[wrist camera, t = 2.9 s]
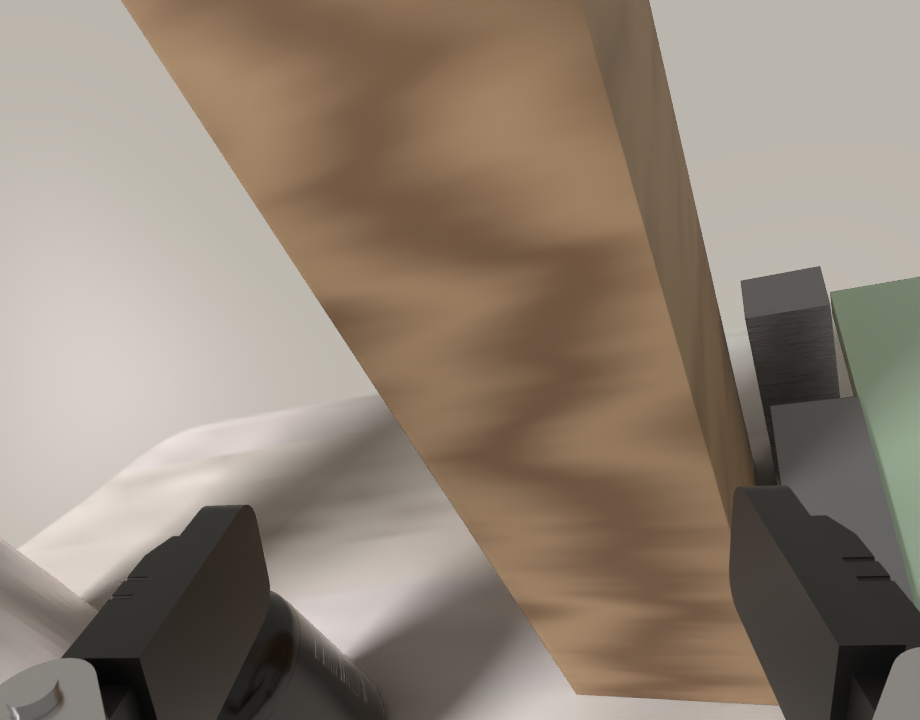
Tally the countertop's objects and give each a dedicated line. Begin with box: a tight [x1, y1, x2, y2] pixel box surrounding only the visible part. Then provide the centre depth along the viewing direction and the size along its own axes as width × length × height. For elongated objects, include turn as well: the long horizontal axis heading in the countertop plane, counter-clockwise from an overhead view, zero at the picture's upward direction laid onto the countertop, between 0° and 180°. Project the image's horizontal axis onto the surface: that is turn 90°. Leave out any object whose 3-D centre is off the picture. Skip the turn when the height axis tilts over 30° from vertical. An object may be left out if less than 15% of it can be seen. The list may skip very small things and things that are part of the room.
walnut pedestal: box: [121, 0, 779, 705], centre depth 23 cm, size 8×12×32 cm
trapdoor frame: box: [741, 266, 840, 485], centre depth 23 cm, size 3×24×10 cm, turn 167°
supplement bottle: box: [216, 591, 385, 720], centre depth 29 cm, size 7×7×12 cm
